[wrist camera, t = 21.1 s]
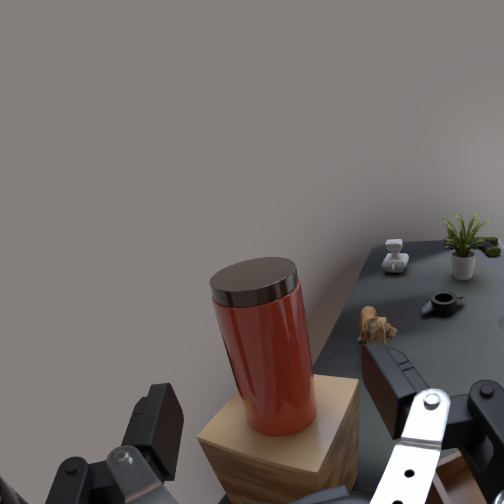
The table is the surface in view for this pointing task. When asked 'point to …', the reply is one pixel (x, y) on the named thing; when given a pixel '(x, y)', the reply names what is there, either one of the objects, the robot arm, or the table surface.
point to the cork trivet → (292, 446)
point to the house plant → (463, 249)
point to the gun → (486, 245)
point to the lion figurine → (374, 327)
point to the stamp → (395, 257)
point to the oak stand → (286, 481)
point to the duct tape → (441, 304)
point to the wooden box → (454, 483)
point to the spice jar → (267, 343)
